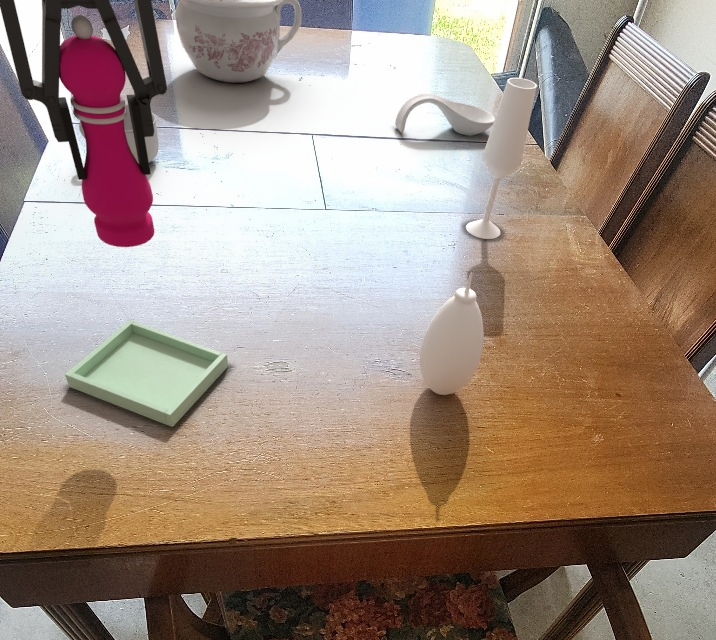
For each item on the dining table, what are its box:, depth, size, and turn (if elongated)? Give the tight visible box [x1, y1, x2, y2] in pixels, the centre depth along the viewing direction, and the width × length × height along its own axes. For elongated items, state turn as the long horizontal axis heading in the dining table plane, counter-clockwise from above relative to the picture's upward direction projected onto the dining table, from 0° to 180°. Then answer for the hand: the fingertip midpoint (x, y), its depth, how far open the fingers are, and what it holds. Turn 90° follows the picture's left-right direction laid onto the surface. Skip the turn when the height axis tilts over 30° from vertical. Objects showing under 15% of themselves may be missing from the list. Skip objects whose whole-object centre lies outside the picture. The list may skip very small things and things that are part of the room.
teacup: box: [78, 103, 159, 164], centre depth 115 cm, size 14×11×8 cm
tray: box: [64, 319, 229, 428], centre depth 80 cm, size 16×14×2 cm
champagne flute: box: [465, 77, 538, 240], centre depth 105 cm, size 7×7×24 cm
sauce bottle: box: [419, 272, 485, 396], centre depth 78 cm, size 8×8×18 cm
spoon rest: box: [394, 92, 496, 136], centre depth 140 cm, size 24×12×7 cm, turn 105°
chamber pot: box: [175, 0, 303, 84], centre depth 144 cm, size 28×28×21 cm
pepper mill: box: [59, 14, 155, 248], centre depth 61 cm, size 7×7×20 cm
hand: (113, 170), depth 64 cm, fingers closed on pepper mill, 6 cm apart
